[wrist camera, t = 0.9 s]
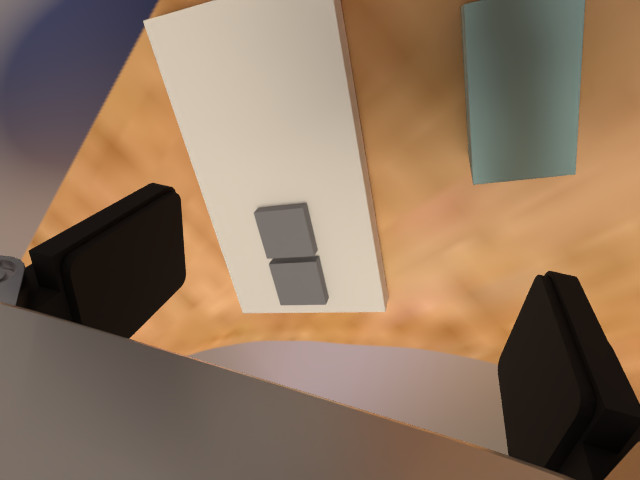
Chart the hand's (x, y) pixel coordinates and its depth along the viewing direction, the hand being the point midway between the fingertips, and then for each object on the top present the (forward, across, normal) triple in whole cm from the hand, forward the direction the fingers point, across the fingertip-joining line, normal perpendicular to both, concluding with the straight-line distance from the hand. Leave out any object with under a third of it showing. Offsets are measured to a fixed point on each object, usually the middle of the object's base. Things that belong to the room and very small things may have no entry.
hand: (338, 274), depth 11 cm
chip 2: (+18, +6, +14) cm, 24 cm away
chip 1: (+18, +7, +9) cm, 22 cm away
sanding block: (+20, -6, -3) cm, 21 cm away
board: (+20, +8, +6) cm, 23 cm away
